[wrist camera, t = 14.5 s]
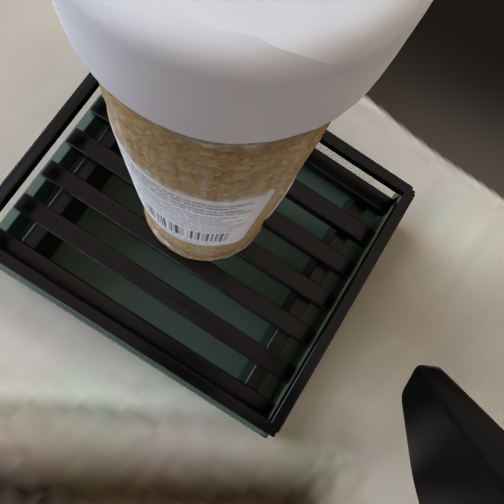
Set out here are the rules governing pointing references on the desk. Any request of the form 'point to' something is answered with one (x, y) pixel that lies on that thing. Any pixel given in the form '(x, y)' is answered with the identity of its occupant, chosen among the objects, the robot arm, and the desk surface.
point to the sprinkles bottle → (228, 98)
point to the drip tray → (184, 279)
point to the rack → (202, 262)
